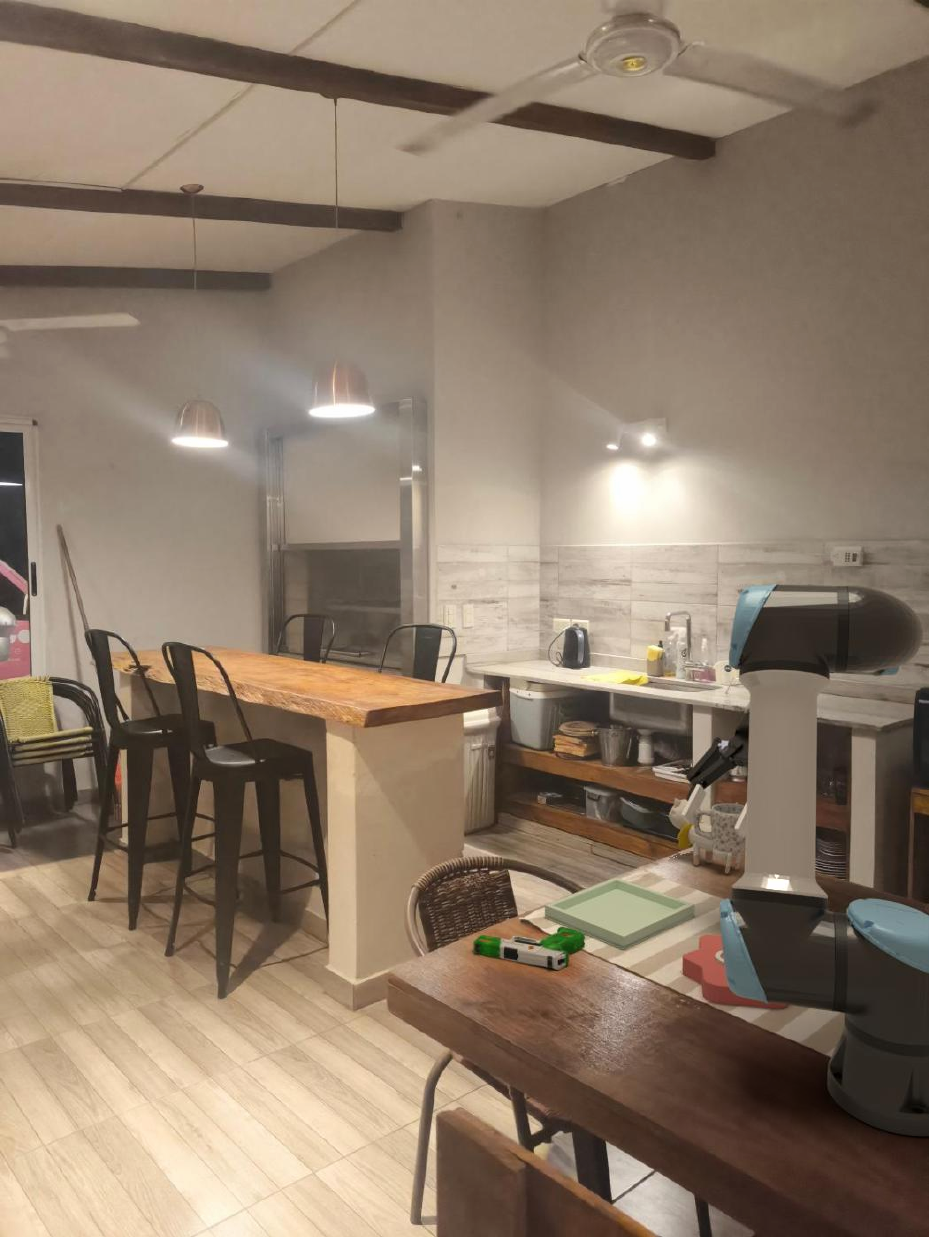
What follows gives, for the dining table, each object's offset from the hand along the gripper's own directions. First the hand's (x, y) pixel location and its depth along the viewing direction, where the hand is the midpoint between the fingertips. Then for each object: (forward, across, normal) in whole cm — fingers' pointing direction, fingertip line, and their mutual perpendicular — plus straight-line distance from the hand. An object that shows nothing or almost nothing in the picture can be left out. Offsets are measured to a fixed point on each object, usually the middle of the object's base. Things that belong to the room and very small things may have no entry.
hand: (712, 825), depth 160 cm
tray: (+18, +15, -9) cm, 25 cm away
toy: (-7, +18, -33) cm, 39 cm away
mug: (+1, 0, -5) cm, 5 cm away
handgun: (+33, +17, +5) cm, 37 cm away
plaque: (+22, -11, -6) cm, 25 cm away
